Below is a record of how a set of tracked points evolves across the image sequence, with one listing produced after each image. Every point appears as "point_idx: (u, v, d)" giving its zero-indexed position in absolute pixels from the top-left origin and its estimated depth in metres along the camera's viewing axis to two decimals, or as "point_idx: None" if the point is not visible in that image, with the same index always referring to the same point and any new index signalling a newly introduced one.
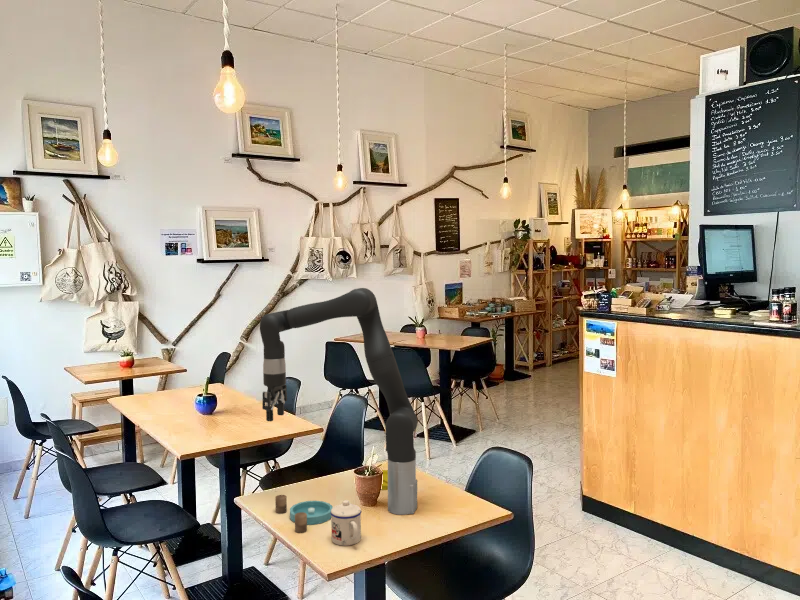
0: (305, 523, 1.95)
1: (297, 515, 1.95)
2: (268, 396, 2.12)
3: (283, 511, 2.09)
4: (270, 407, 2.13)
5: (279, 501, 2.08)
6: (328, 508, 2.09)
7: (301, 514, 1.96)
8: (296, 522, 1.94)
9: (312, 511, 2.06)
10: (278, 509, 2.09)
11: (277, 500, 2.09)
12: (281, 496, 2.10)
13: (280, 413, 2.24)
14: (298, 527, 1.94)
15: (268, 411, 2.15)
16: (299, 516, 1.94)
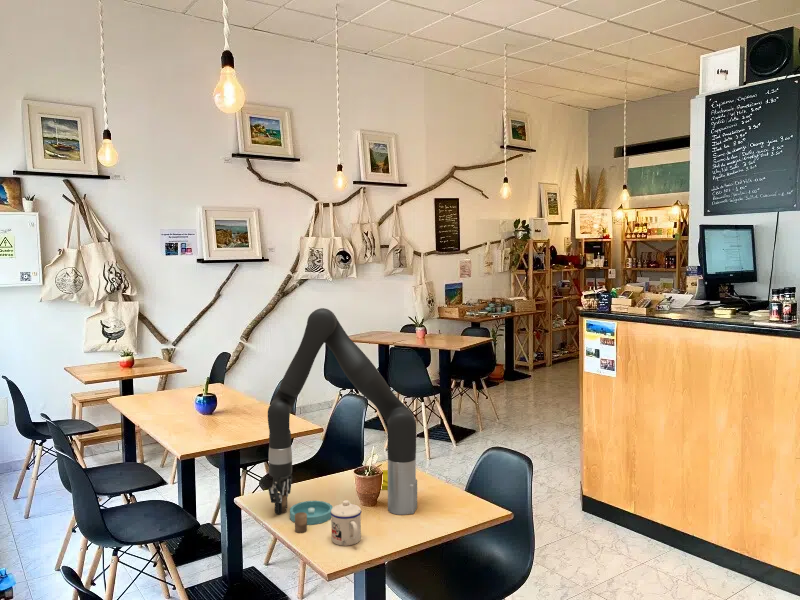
0: (305, 523, 1.95)
1: (297, 515, 1.95)
2: (275, 492, 2.04)
3: (283, 511, 2.09)
4: (279, 500, 2.06)
5: None
6: (328, 508, 2.09)
7: (302, 514, 1.96)
8: (296, 522, 1.94)
9: (312, 511, 2.06)
10: None
11: None
12: None
13: None
14: (298, 527, 1.94)
15: (277, 504, 2.07)
16: (299, 516, 1.94)
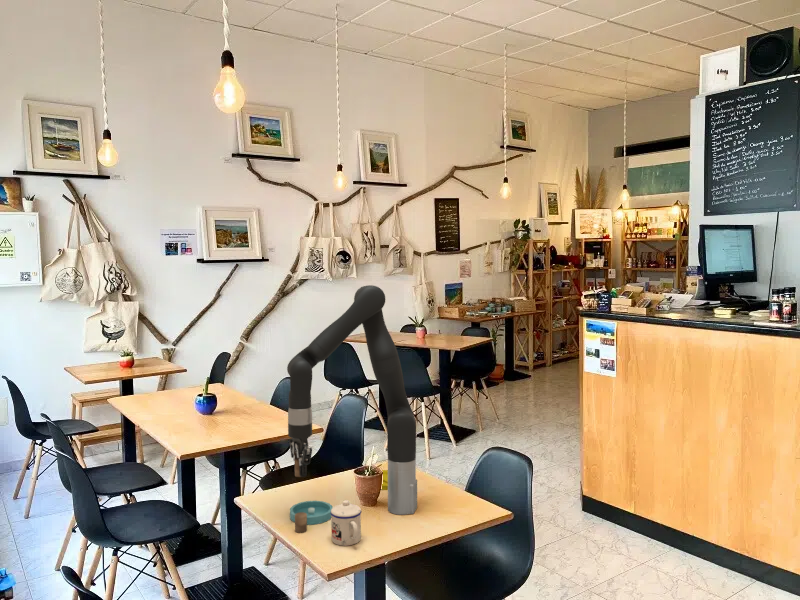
0: (305, 523, 1.95)
1: (297, 515, 1.95)
2: (310, 453, 1.99)
3: None
4: (309, 461, 2.01)
5: None
6: (328, 508, 2.09)
7: (301, 514, 1.96)
8: (296, 522, 1.94)
9: (312, 511, 2.06)
10: None
11: None
12: None
13: None
14: (298, 527, 1.94)
15: (304, 466, 2.01)
16: (299, 516, 1.94)
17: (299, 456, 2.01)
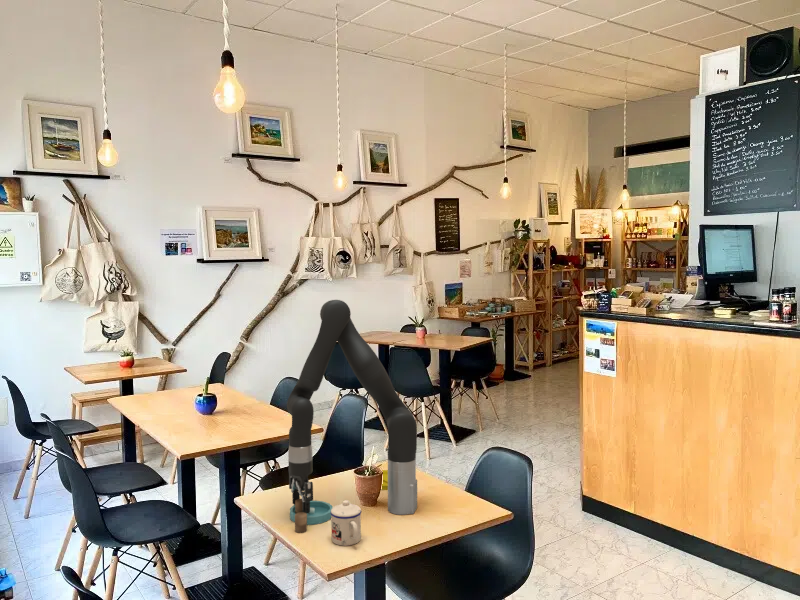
0: (305, 523, 1.95)
1: (297, 515, 1.95)
2: (311, 486, 1.99)
3: None
4: (312, 497, 2.00)
5: None
6: (328, 508, 2.09)
7: (301, 514, 1.96)
8: (296, 522, 1.94)
9: (312, 511, 2.06)
10: None
11: (301, 504, 2.03)
12: (300, 500, 2.05)
13: None
14: (298, 527, 1.94)
15: (307, 502, 2.00)
16: (299, 516, 1.94)
17: (301, 492, 2.00)
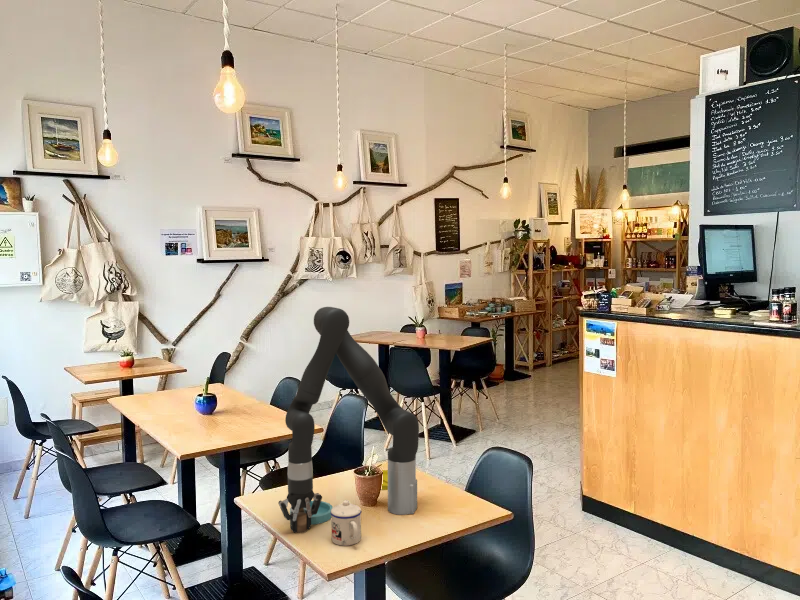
0: (305, 523, 1.95)
1: (297, 515, 1.95)
2: (282, 508, 1.91)
3: None
4: (289, 517, 1.92)
5: None
6: (328, 508, 2.09)
7: (301, 513, 1.96)
8: None
9: None
10: None
11: None
12: None
13: None
14: (298, 527, 1.94)
15: (291, 521, 1.94)
16: (299, 516, 1.94)
17: (291, 508, 1.95)
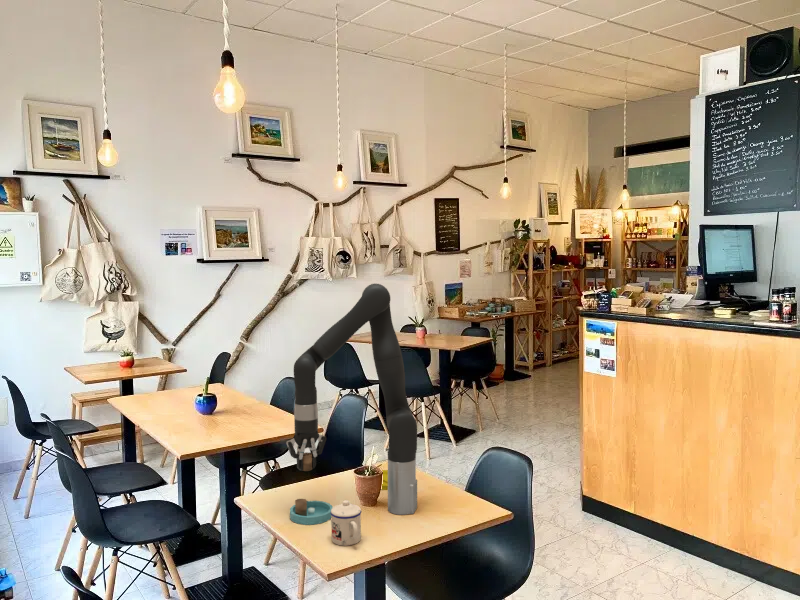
0: (310, 462, 2.08)
1: (303, 454, 2.08)
2: (289, 446, 2.04)
3: (306, 514, 2.04)
4: (295, 456, 2.05)
5: (303, 505, 2.03)
6: (328, 508, 2.09)
7: (307, 453, 2.09)
8: None
9: (312, 511, 2.06)
10: (302, 513, 2.03)
11: (301, 504, 2.03)
12: (300, 500, 2.05)
13: None
14: (304, 465, 2.07)
15: (297, 459, 2.07)
16: (305, 455, 2.07)
17: (297, 448, 2.08)
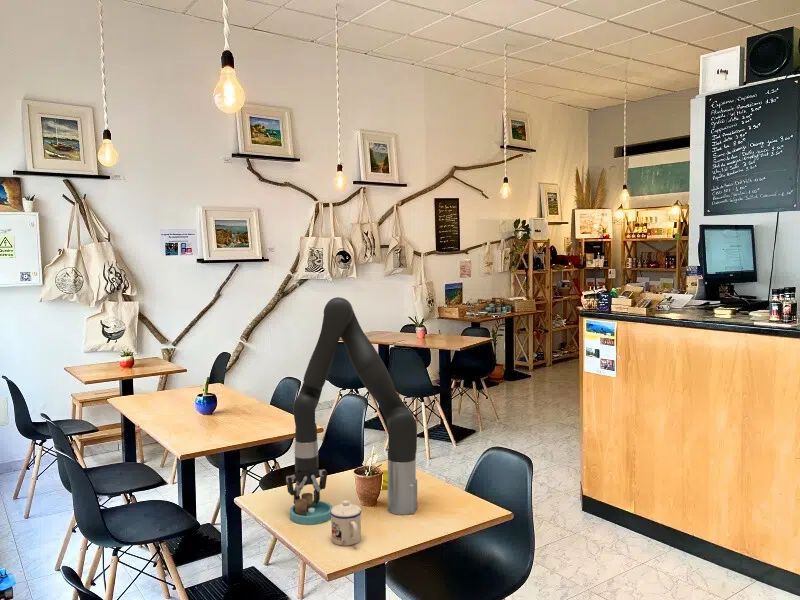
0: (311, 503, 2.09)
1: (303, 495, 2.09)
2: (288, 482, 2.05)
3: (306, 514, 2.04)
4: (292, 493, 2.05)
5: (303, 505, 2.03)
6: (328, 508, 2.09)
7: (308, 494, 2.10)
8: None
9: (312, 511, 2.06)
10: (302, 513, 2.03)
11: (301, 504, 2.03)
12: (300, 500, 2.05)
13: (315, 500, 2.11)
14: None
15: (294, 496, 2.07)
16: (306, 496, 2.08)
17: (295, 484, 2.09)
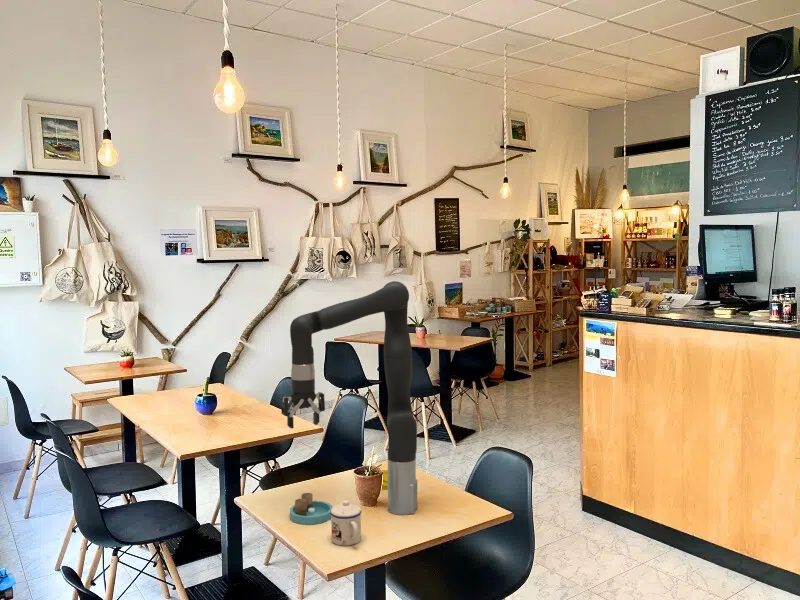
0: (311, 503, 2.09)
1: (303, 495, 2.09)
2: (284, 402, 2.05)
3: (306, 514, 2.04)
4: (286, 413, 2.05)
5: (303, 505, 2.03)
6: (328, 508, 2.09)
7: (308, 494, 2.10)
8: None
9: (312, 511, 2.06)
10: (302, 513, 2.03)
11: (301, 504, 2.03)
12: (300, 500, 2.05)
13: (314, 422, 2.12)
14: None
15: (288, 417, 2.07)
16: (306, 496, 2.08)
17: None
